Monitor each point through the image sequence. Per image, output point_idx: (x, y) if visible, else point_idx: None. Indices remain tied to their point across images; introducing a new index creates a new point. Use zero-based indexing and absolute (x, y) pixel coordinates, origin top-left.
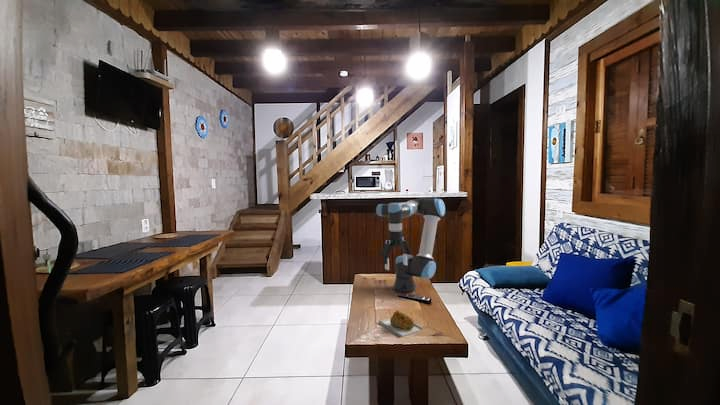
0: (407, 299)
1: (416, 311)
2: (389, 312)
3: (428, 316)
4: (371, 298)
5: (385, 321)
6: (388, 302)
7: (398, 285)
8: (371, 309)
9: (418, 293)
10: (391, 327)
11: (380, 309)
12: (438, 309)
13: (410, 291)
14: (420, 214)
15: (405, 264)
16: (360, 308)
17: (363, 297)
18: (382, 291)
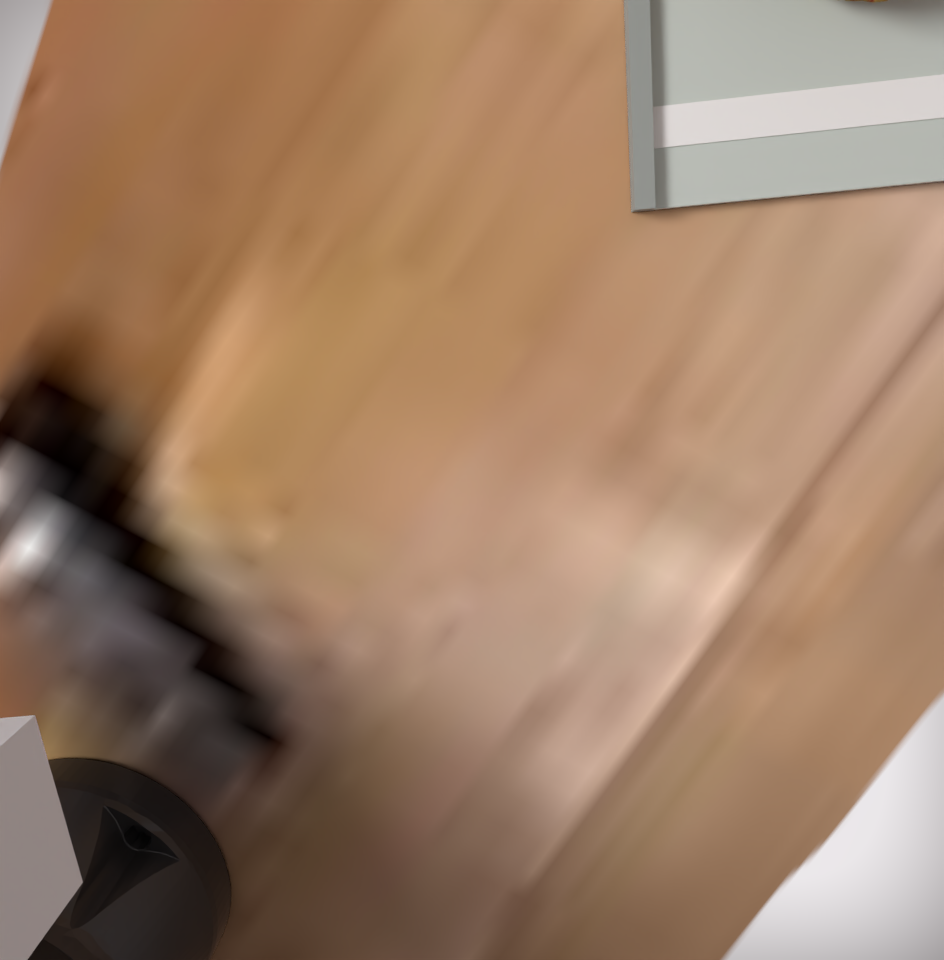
0: (232, 611)
1: (335, 244)
2: (664, 388)
3: (282, 27)
4: (613, 841)
5: (911, 136)
6: (497, 648)
7: (171, 910)
8: (809, 573)
9: (8, 695)
10: None
11: (710, 520)
12: (38, 156)
13: (79, 767)
14: None
15: (33, 783)
16: (910, 662)
17: (681, 908)
18: (376, 944)
